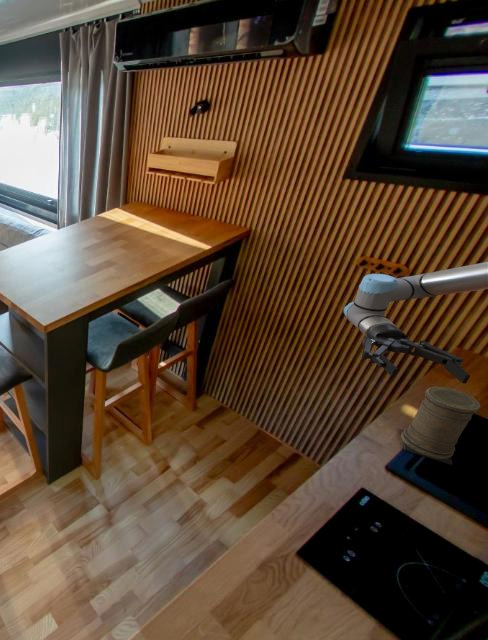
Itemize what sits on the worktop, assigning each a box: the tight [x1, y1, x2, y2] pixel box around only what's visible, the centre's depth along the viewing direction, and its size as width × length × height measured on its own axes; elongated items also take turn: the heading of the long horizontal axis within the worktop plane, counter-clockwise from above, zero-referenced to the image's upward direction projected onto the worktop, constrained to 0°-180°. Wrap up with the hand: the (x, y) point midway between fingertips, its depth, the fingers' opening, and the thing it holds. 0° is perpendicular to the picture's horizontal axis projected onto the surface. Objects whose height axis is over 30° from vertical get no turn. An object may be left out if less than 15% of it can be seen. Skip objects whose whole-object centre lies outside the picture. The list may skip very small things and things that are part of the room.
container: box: [400, 386, 481, 459], centre depth 96 cm, size 9×9×18 cm
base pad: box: [400, 429, 453, 466], centre depth 99 cm, size 8×8×1 cm
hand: (429, 376), depth 99 cm, fingers open, 13 cm apart
